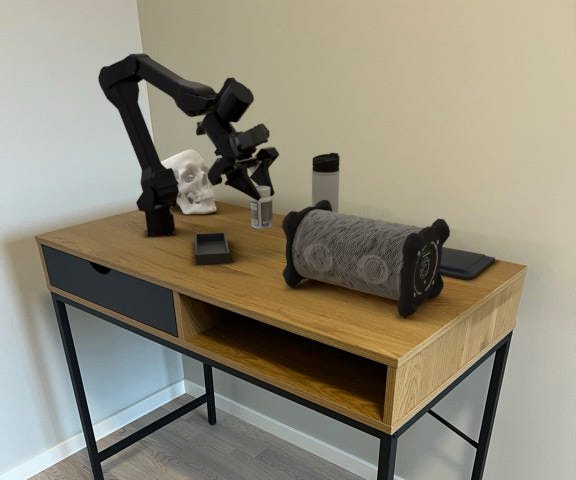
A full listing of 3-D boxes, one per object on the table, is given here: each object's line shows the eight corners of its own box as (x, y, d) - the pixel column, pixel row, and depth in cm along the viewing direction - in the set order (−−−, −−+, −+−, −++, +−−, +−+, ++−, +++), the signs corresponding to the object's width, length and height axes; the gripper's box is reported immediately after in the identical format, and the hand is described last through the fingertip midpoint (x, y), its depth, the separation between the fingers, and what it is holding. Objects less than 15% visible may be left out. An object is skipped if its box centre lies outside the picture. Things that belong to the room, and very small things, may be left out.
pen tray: (230, 262, 131) (229, 252, 130) (196, 264, 130) (195, 254, 129) (226, 241, 145) (225, 232, 144) (195, 243, 144) (194, 233, 143)
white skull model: (201, 213, 160) (172, 144, 156) (161, 236, 174) (134, 173, 170) (235, 203, 169) (209, 138, 165) (195, 226, 183) (170, 166, 180)
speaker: (408, 323, 103) (417, 238, 95) (279, 288, 118) (277, 212, 110) (444, 296, 113) (455, 217, 106) (321, 267, 128) (322, 196, 121)
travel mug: (343, 241, 144) (346, 154, 134) (325, 247, 140) (327, 158, 130) (323, 236, 148) (325, 151, 138) (306, 242, 144) (306, 155, 134)
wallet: (383, 254, 129) (415, 237, 140) (382, 262, 130) (414, 245, 141) (470, 272, 119) (498, 253, 129) (468, 281, 120) (496, 261, 130)
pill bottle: (273, 223, 134) (273, 185, 130) (271, 229, 130) (270, 190, 126) (253, 223, 134) (251, 184, 130) (250, 229, 130) (248, 189, 126)
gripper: (213, 115, 116) (259, 181, 116) (271, 106, 129) (312, 165, 129) (188, 153, 124) (230, 215, 124) (245, 142, 137) (283, 197, 137)
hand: (266, 197), depth 128 cm, fingers closed on pill bottle, 4 cm apart
